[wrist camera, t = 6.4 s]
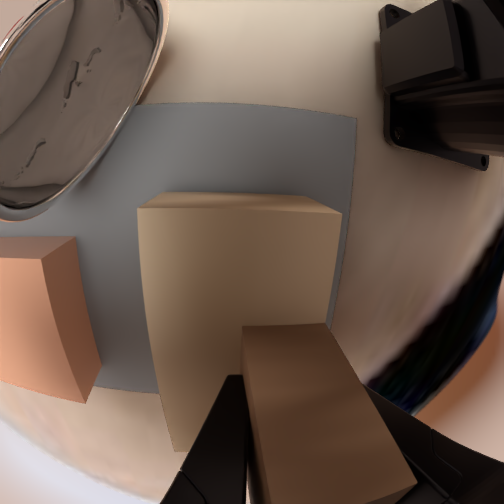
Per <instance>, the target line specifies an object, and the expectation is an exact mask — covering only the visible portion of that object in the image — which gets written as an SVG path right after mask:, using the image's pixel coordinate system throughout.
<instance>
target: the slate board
mask: <svg viewBox="0 0 504 504" xmlns="http://www.w3.org/2000/svg"><path fill="white" fill-rule="evenodd" d="M356 123H357V118H352V117H347V116H341V115H336V114H330V113H324V112H317V111H311V110H303V109H295V108H287V107H278V106H267V105H254V104H237V103H161V104H144V105H135V107H134V108H133V110H132V112H131V113H130V115H129V117H128V118H127V120H126V121H125V123H124V125H123V126H122V128H121V129H120V131H119V132H118V134H117V135H116V137H115V138H114V139H113V141H112V142H111V144H110V145H109V146H108V148H107V149H106V151H105V152H104V153H103V154H102V156H101V157H100V158H99V160H98V161H97V162H96V163H95V165H94V166H93V167H92V168H91V169H90V171H89V172H88V173H87V174H86V175H85V176H84V177H83V179H82V180H81V181H80V182H79V183H78V184H77V185H76V186H75V187H74V188H73V189H72V190H71V191H70V192H69V193H68V194H67V195H66V196H65V197H63V198H62V199H61V200H60V201H59V202H57V203H56V204H55V205H54V206H52V207H51V208H49V209H48V210H47V211H45V212H43V213H42V214H40V215H38V216H36V217H34V218H31V219H29V220H25V221H21V222H4V221H0V237H42V236H75V237H76V246H77V254H78V261H79V268H80V274H81V280H82V286H83V291H84V296H85V301H86V306H87V310H88V315H89V319H90V324H91V328H92V332H93V336H94V339H95V343H96V347H97V350H98V354H99V357H100V361H101V364H102V367H101V369H100V371H99V373H98V376H97V378H96V380H95V382H94V385H93V386H97V387H103V388H110V389H118V390H126V391H135V392H146V393H158V394H160V392H159V388H158V383H157V378H156V373H155V368H154V363H153V357H152V352H151V346H150V340H149V333H148V327H147V320H146V312H145V304H144V296H143V287H142V277H141V266H140V254H139V239H138V218H137V208H138V207H140V206H141V205H143V204H145V203H146V202H148V201H149V200H151V199H152V198H154V197H156V196H157V195H159V194H160V193H162V192H225V193H256V194H278V195H295V196H306V197H308V198H311V199H313V200H315V201H317V202H319V203H321V204H323V205H325V206H327V207H329V208H331V209H333V210H335V211H337V212H339V213H342V221H341V229H340V236H339V244H338V251H337V258H336V264H335V271H334V277H333V283H332V289H331V294H330V300H329V305H328V311H327V316H326V321H325V324H326V325H327V327H328V328H329V330H330V328H331V323H332V318H333V313H334V308H335V303H336V298H337V292H338V287H339V281H340V275H341V269H342V263H343V257H344V250H345V243H346V236H347V229H348V221H349V212H350V203H351V194H352V184H353V172H354V159H355V144H356Z"/></svg>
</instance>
